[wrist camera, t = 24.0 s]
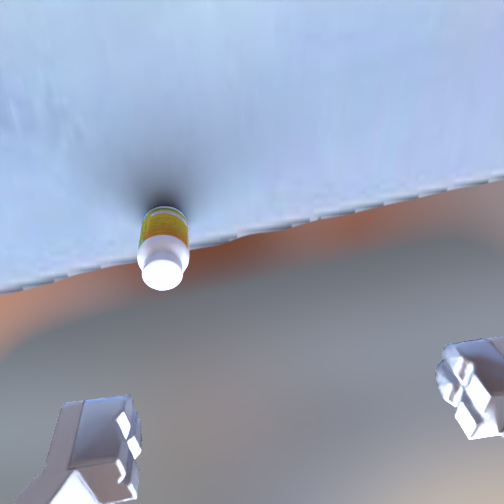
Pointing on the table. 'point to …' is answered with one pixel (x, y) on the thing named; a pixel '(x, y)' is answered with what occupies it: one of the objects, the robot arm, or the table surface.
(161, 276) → the supplement bottle
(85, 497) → the robot arm
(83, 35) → the table surface
